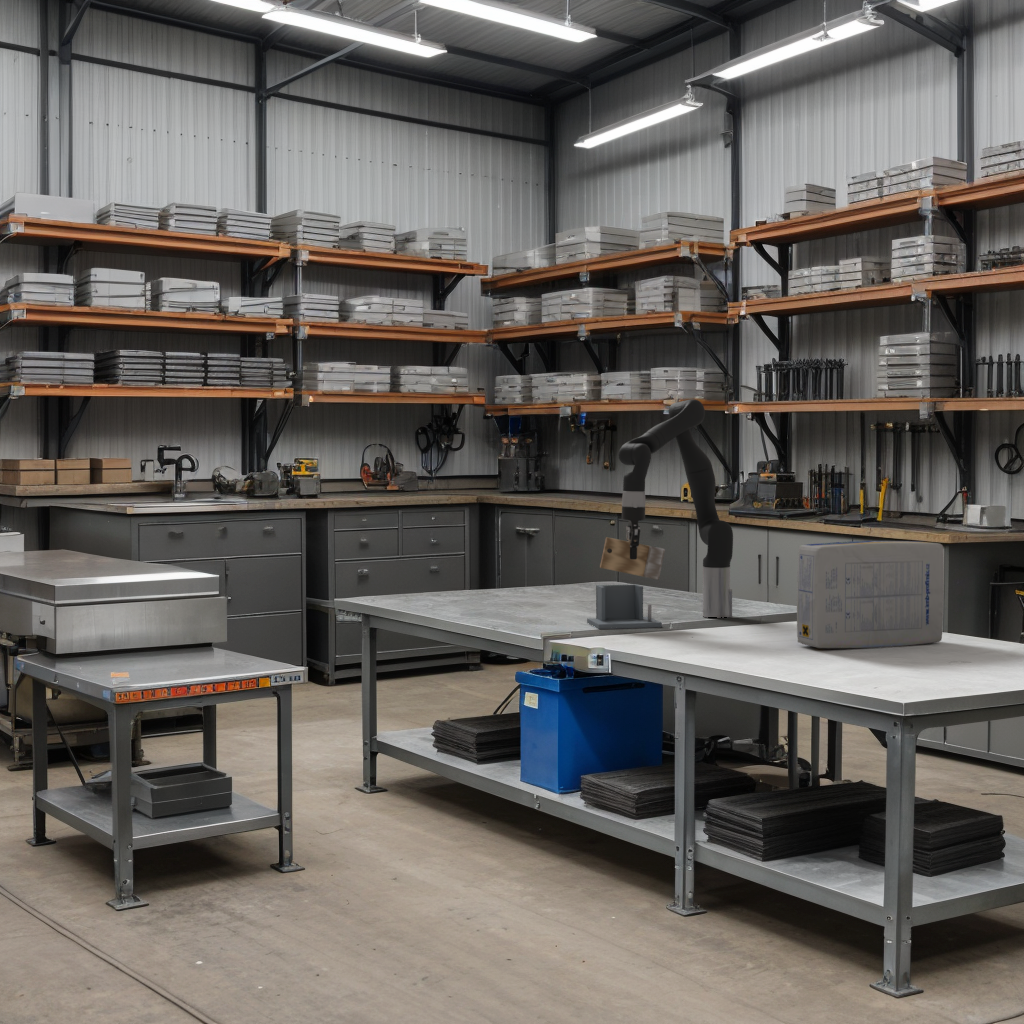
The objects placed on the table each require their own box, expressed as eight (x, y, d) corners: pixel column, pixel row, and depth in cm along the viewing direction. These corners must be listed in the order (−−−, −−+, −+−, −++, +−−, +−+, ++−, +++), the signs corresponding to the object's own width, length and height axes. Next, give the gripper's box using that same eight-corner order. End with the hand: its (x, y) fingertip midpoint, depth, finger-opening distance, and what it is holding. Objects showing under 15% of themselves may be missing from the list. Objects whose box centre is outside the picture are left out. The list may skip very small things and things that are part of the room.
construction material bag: (920, 638, 364) (920, 538, 363) (945, 644, 353) (945, 541, 352) (794, 646, 351) (794, 542, 349) (816, 652, 340) (816, 545, 338)
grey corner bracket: (648, 621, 407) (648, 583, 406) (661, 627, 392) (661, 588, 391) (587, 623, 403) (587, 585, 402) (598, 629, 388) (598, 590, 387)
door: (656, 578, 396) (662, 548, 396) (658, 579, 391) (665, 549, 390) (599, 566, 395) (605, 536, 394) (601, 568, 390) (607, 537, 389)
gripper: (618, 504, 399) (617, 557, 399) (625, 505, 385) (624, 560, 385) (641, 505, 399) (640, 557, 400) (648, 506, 385) (647, 560, 386)
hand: (632, 558), depth 393 cm, fingers closed on door, 3 cm apart
